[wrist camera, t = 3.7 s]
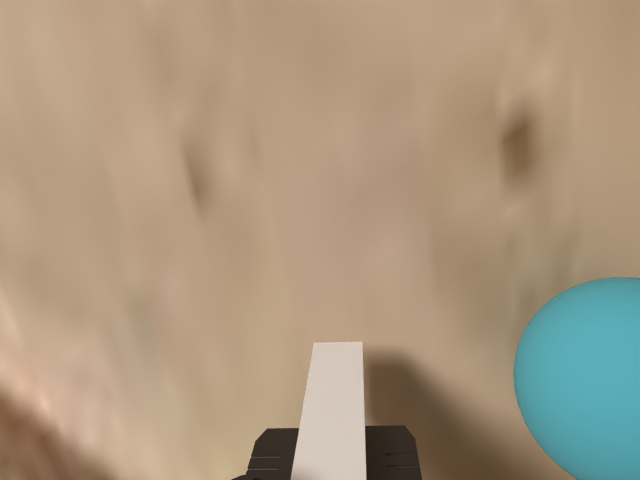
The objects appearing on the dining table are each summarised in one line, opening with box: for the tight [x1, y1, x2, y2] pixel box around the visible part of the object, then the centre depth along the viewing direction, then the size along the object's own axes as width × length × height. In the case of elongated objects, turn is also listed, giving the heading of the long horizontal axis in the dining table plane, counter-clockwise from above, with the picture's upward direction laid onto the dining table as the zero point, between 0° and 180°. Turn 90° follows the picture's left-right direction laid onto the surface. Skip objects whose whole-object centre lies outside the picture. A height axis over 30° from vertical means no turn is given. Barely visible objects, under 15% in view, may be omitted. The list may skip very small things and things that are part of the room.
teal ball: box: [514, 278, 640, 480], centre depth 15 cm, size 6×6×6 cm
